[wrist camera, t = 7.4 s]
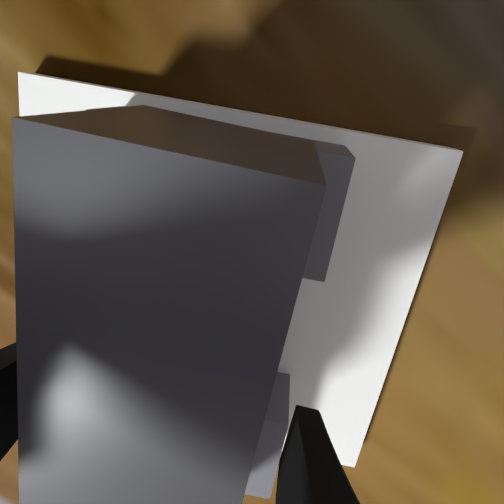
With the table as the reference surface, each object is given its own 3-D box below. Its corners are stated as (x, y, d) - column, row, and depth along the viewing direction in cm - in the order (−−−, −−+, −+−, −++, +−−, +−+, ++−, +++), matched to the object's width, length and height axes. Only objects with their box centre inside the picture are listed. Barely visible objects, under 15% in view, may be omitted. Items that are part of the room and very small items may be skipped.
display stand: (43, 386, 22) (-10, 448, 18) (34, 73, 16) (-46, 67, 12) (351, 450, 21) (363, 528, 17) (453, 147, 15) (502, 166, 12)
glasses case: (111, 457, 17) (21, 632, 12) (144, 105, 12) (11, 117, 7) (229, 485, 17) (195, 675, 12) (314, 141, 12) (327, 185, 6)
